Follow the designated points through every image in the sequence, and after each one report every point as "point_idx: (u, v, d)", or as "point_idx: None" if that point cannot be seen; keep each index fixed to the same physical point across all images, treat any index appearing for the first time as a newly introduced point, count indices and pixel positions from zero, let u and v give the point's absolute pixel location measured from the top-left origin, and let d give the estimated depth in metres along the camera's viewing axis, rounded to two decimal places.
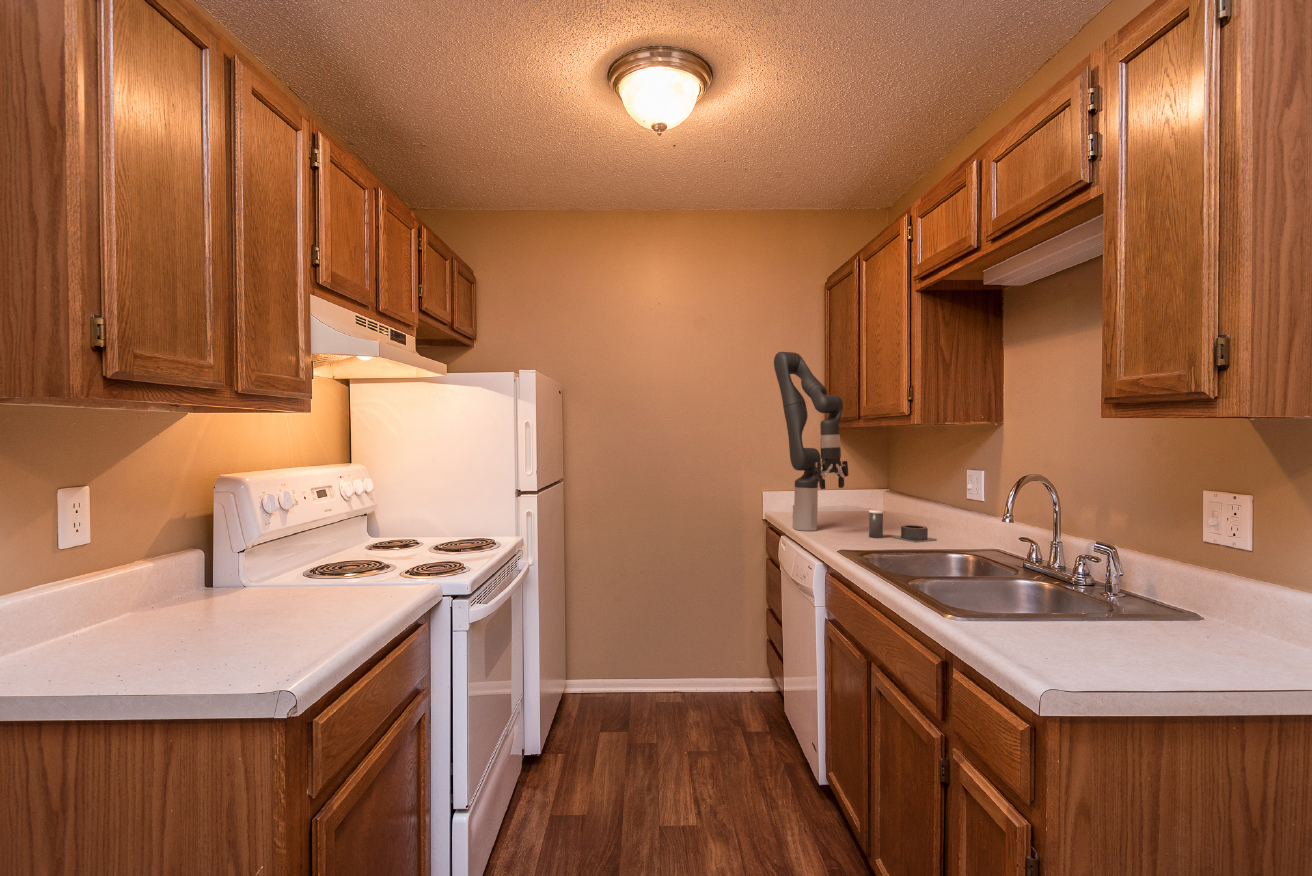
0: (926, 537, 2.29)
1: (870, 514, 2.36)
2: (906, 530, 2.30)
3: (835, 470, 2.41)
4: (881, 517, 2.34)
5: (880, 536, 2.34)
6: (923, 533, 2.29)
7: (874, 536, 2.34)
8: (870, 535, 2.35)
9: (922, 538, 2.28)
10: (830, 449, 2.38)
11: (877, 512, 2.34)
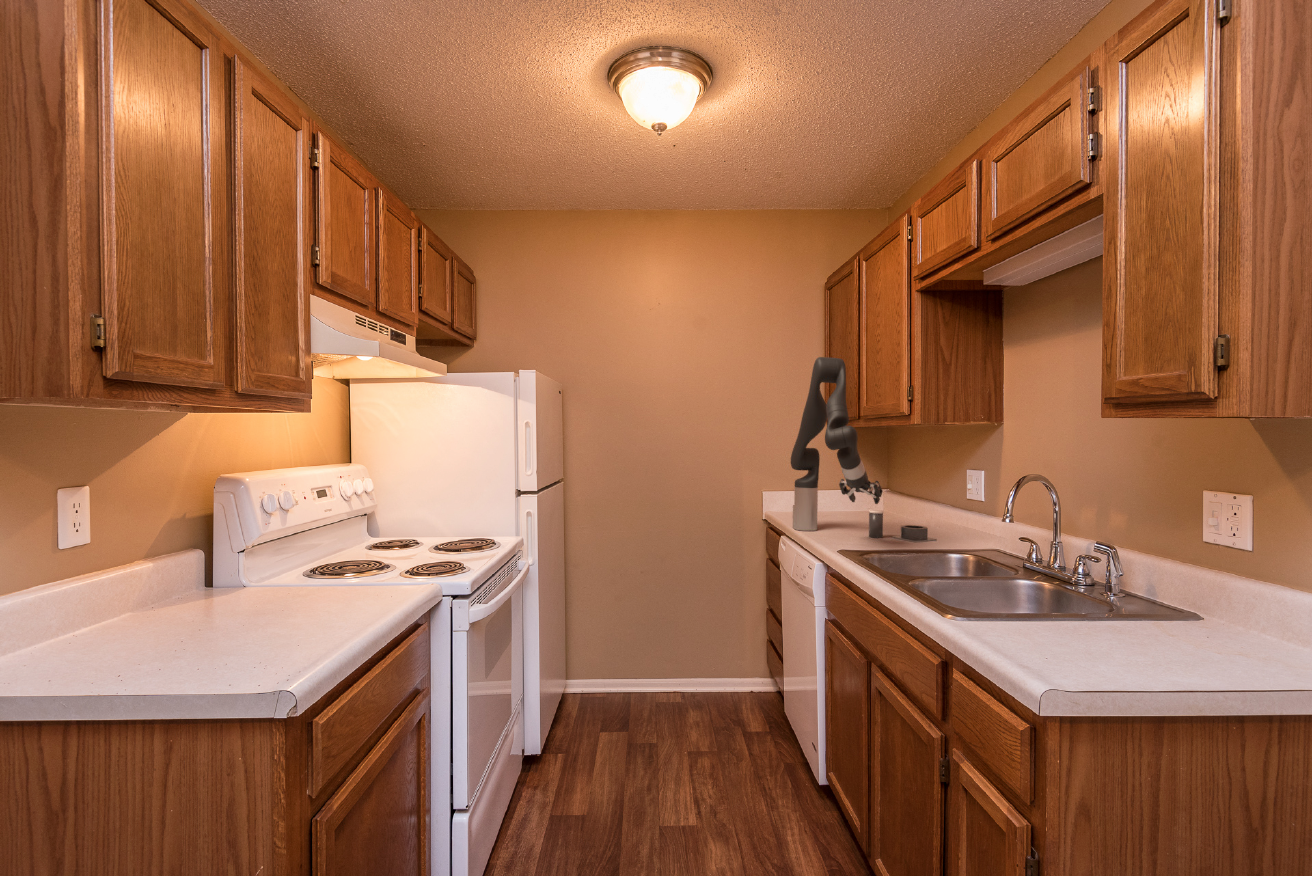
0: (926, 537, 2.29)
1: (870, 514, 2.36)
2: (906, 530, 2.30)
3: (862, 491, 2.22)
4: (881, 517, 2.34)
5: (880, 536, 2.34)
6: (923, 533, 2.29)
7: (874, 536, 2.34)
8: (870, 535, 2.35)
9: (922, 538, 2.28)
10: (846, 479, 2.19)
11: (877, 512, 2.34)
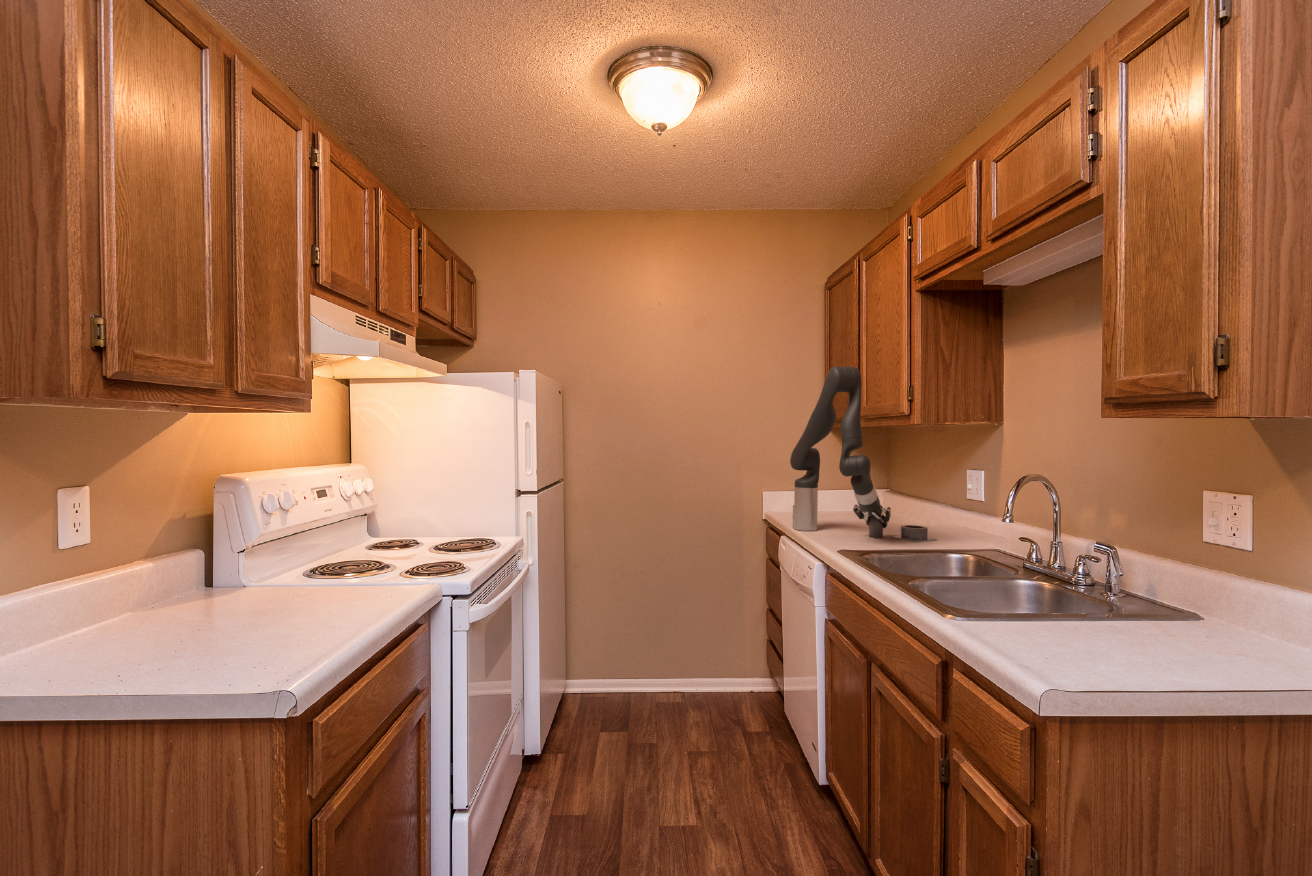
0: (926, 537, 2.29)
1: None
2: (906, 530, 2.30)
3: (873, 514, 2.33)
4: None
5: (880, 536, 2.34)
6: (923, 533, 2.29)
7: (874, 536, 2.34)
8: (870, 535, 2.35)
9: (922, 538, 2.28)
10: (859, 503, 2.29)
11: None
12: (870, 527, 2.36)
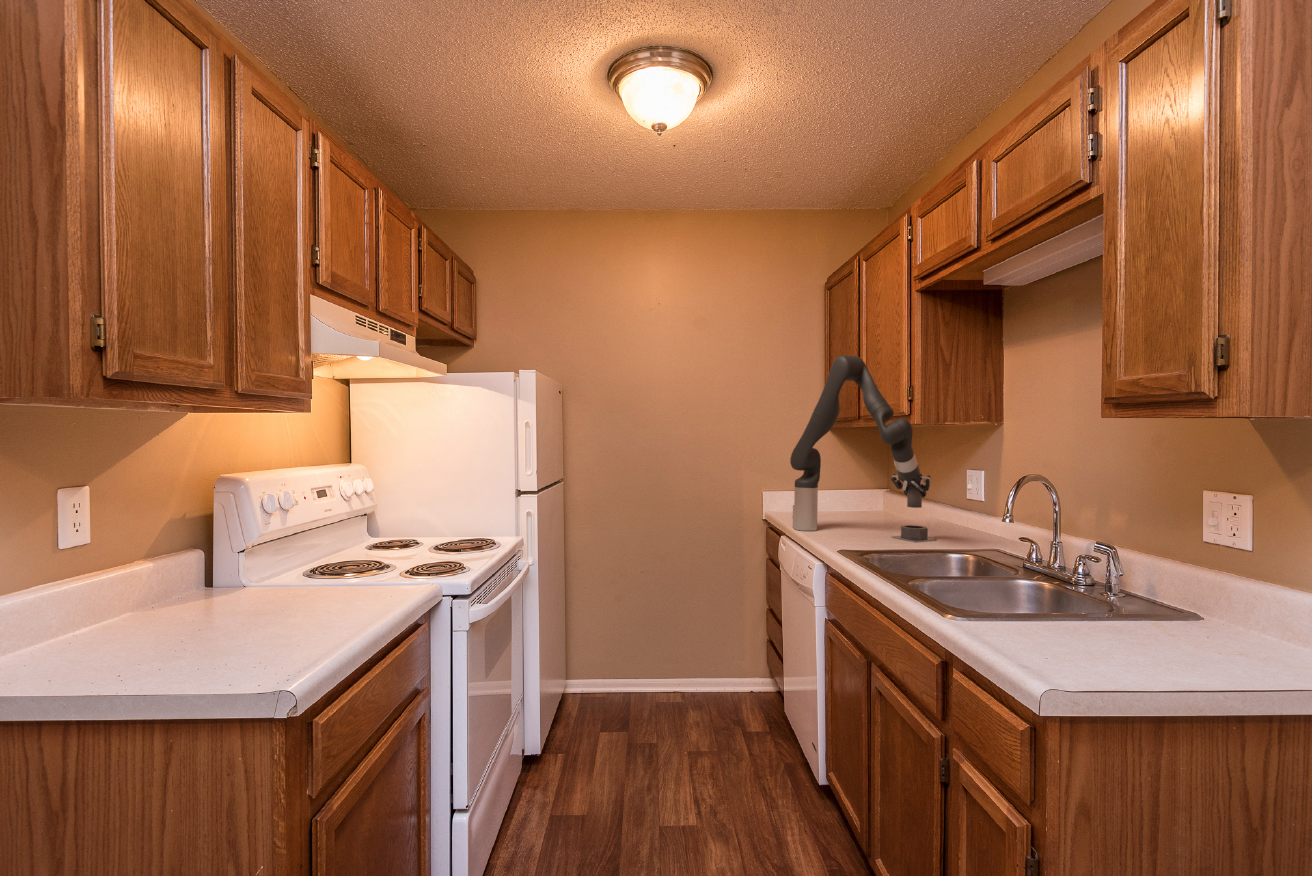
0: (926, 537, 2.29)
1: None
2: (906, 530, 2.30)
3: None
4: None
5: (919, 506, 2.30)
6: (923, 533, 2.29)
7: (913, 506, 2.30)
8: (909, 505, 2.31)
9: (922, 538, 2.28)
10: (898, 472, 2.25)
11: None
12: (909, 497, 2.32)
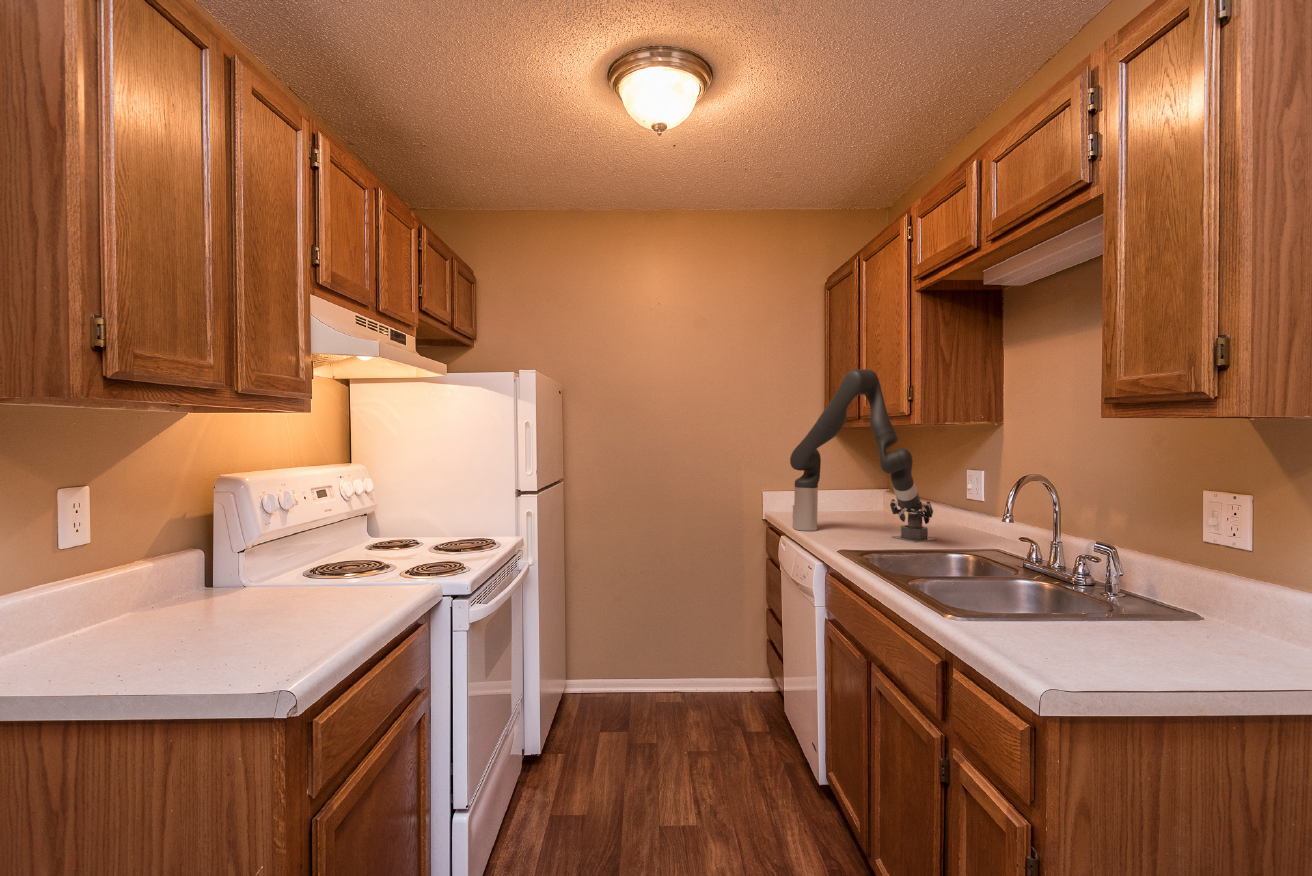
0: (926, 537, 2.29)
1: (909, 514, 2.32)
2: (906, 530, 2.30)
3: None
4: (921, 517, 2.30)
5: None
6: (923, 533, 2.29)
7: None
8: None
9: (922, 538, 2.28)
10: (898, 499, 2.25)
11: None
12: None
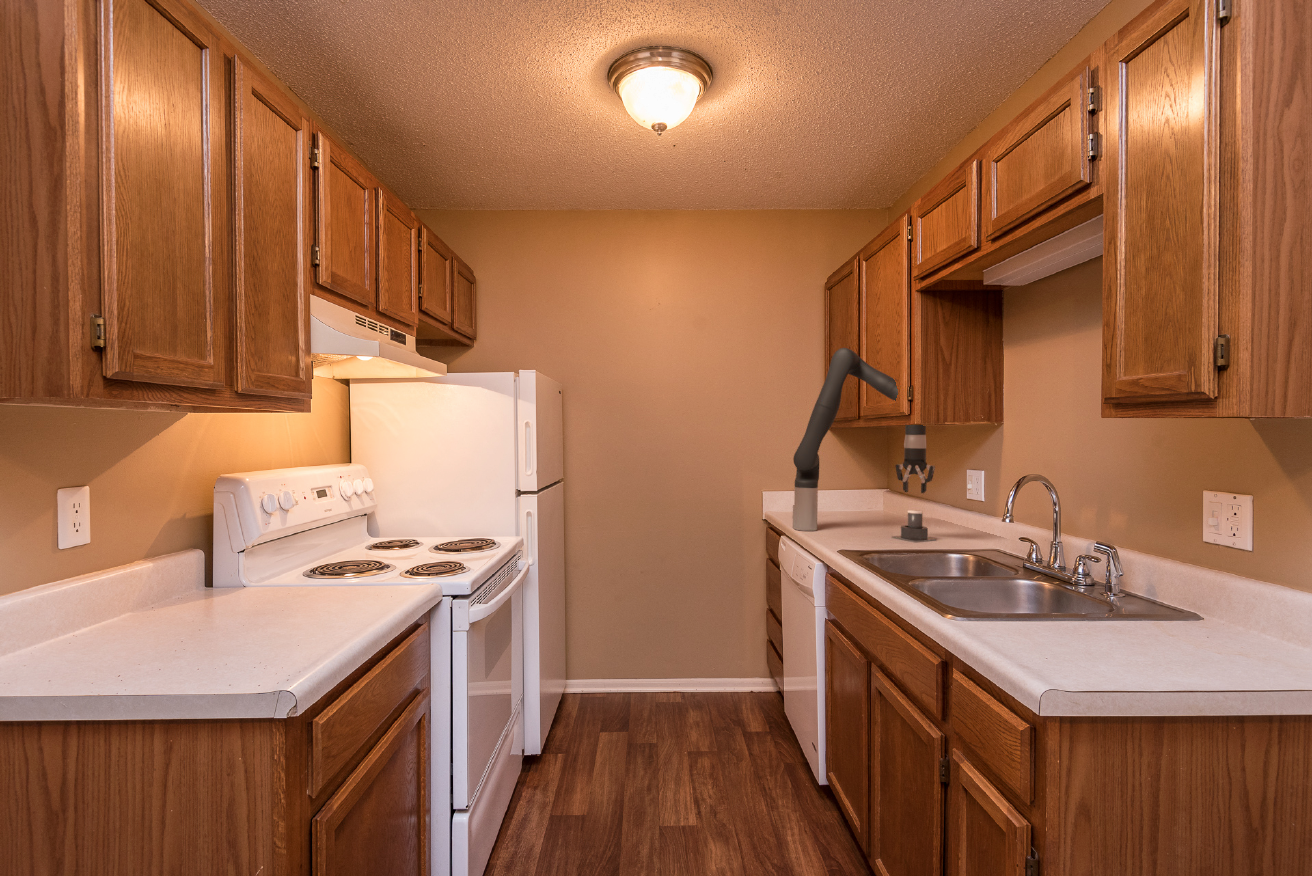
0: (926, 537, 2.29)
1: (909, 514, 2.32)
2: (906, 530, 2.30)
3: (915, 472, 2.31)
4: (921, 517, 2.30)
5: None
6: (923, 533, 2.29)
7: None
8: None
9: (922, 538, 2.28)
10: (906, 449, 2.31)
11: (917, 512, 2.30)
12: None
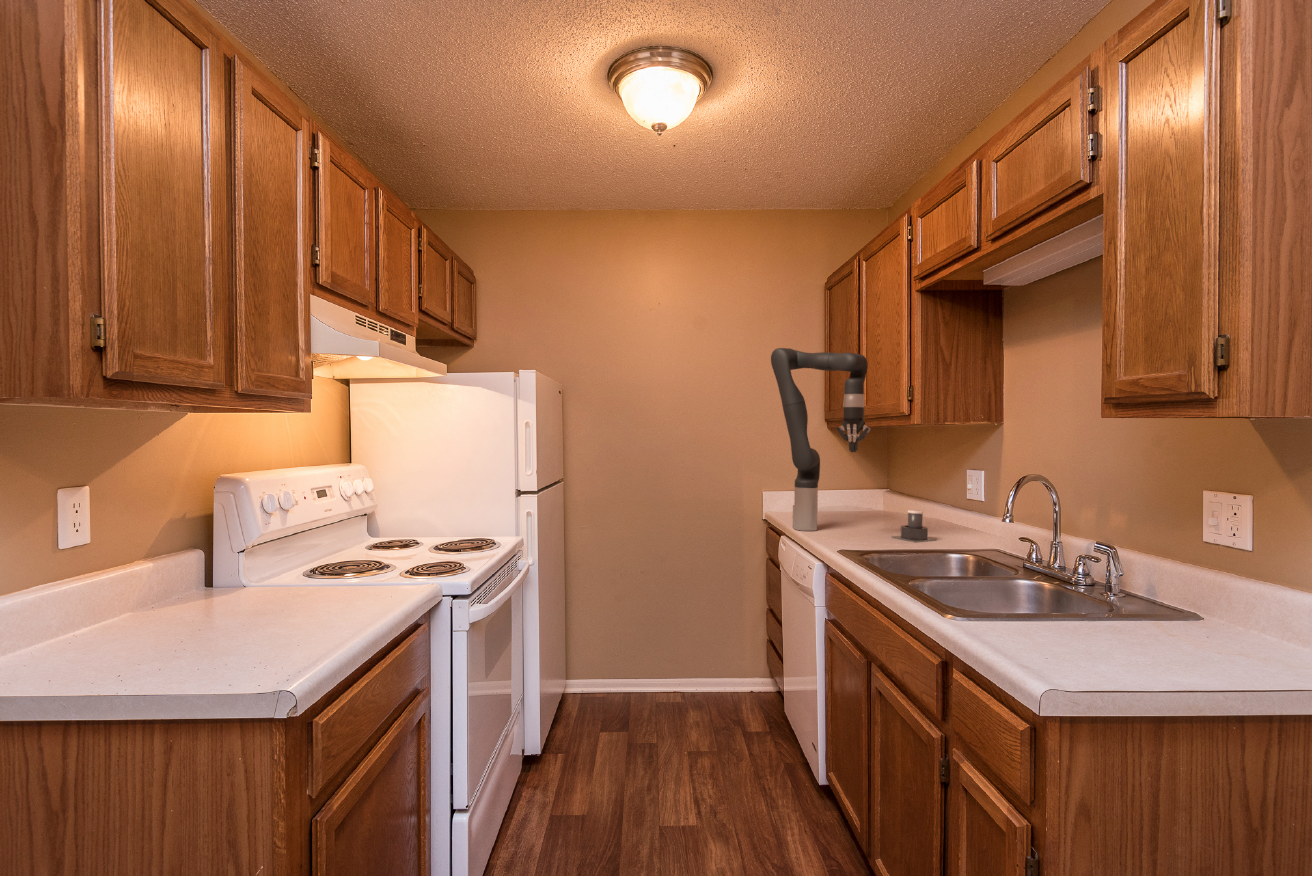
0: (926, 537, 2.29)
1: (909, 514, 2.32)
2: (906, 530, 2.30)
3: (851, 429, 2.35)
4: (921, 517, 2.30)
5: None
6: (923, 533, 2.29)
7: None
8: None
9: (922, 538, 2.28)
10: (844, 409, 2.35)
11: (917, 512, 2.30)
12: None
